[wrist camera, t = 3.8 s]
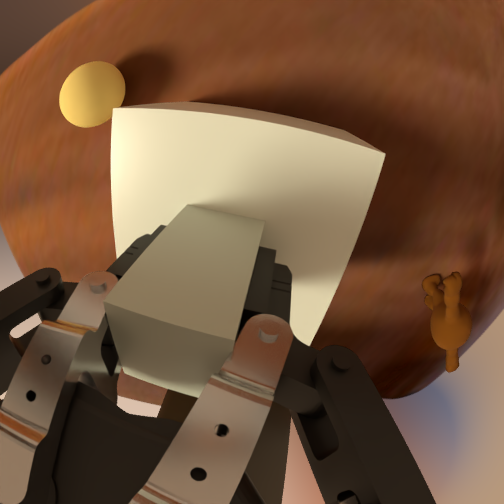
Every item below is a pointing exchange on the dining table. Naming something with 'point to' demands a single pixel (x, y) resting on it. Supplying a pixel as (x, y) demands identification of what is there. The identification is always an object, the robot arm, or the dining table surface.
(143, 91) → the dining table surface
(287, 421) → the bottle
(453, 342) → the toy figurine
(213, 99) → the dining table surface
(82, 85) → the ball
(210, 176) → the cover
